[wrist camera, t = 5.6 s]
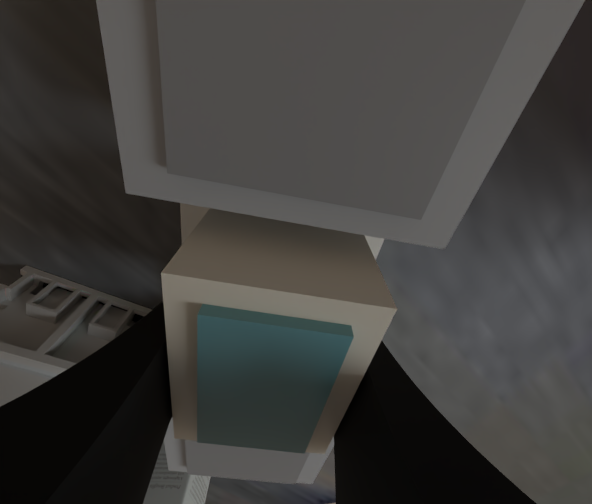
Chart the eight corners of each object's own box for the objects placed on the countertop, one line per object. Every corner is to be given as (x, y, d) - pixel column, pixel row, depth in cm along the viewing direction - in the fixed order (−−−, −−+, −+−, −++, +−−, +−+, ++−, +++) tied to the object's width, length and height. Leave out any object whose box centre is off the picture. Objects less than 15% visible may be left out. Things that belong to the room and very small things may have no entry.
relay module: (349, 201, 10) (402, 319, 5) (315, 315, 14) (325, 466, 8) (231, 179, 10) (153, 282, 5) (223, 301, 13) (170, 449, 8)
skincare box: (156, 454, 27) (114, 565, 21) (136, 423, 24) (79, 543, 18) (217, 455, 27) (192, 567, 21) (205, 423, 24) (171, 545, 18)
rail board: (463, 8, 9) (763, -123, 3) (321, 372, 20) (329, 497, 14) (184, -64, 8) (-104, -411, 2) (193, 355, 19) (145, 480, 13)
